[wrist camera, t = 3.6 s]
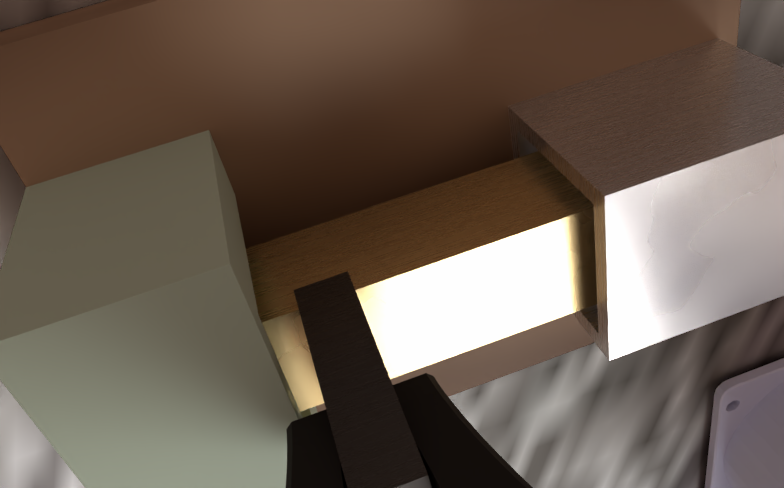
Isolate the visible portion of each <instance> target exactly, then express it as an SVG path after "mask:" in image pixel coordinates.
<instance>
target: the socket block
mask: <svg viewBox="0 0 784 488" xmlns="http://www.w3.org/2000/svg"><path fill="white" fill-rule="evenodd" d="M0 380H1V382H2V383H3V384H4V385H5V387H6V388H7V389H8V390H9V392H10V393H11V394H12V395H13V397H14V398H15V399H16V401H17V402H18V403H19V404H20V406H21V407H22V408H23V409H24V411H25V412H26V413H27V414H28V416H29V417H30V418H31V420H32V421H33V422H34V423H35V425H36V426H37V427H38V428H39V430H40V431H41V432H42V433H43V435H44V436H45V437H46V439H47V440H48V441H49V442H50V444H51V445H52V446H53V447H54V449H55V450H56V451H57V452H58V454H59V455H60V456H61V458H62V459H63V460H64V461H65V463H66V464H67V465H68V466H69V468H70V469H71V470H72V471H73V473H74V474H75V475H76V477H77V478H78V479H79V480H80V482H81V483H82V484H83V485H84V487H85V488H286V473H287V431H286V429H287V428H288V426H289V425H290V423H291V422H292V421H295V420H298V419H301V418H303V417H306V416H309V415H312V414H314V413H317V408H316V406H315V407H312V408H309V409H306V410H304V411H301V412H300V410H299V408H298V405H297V403H296V401H295V399H294V396H293V394H292V392H291V389H290V387H289V385H288V382H287V380H286V378H285V375H284V373H283V371H282V368H281V366H280V364H279V361H278V359H277V357H276V354H275V352H274V350H273V348H272V345H271V343H270V341H269V338H268V336H267V334H266V331H265V329H264V327H263V324H262V322H261V320H260V317H259V314H258V309H257V304H256V299H255V294H254V289H253V284H252V279H251V274H250V269H249V263H248V258H247V253H246V248H245V243H244V238H243V233H242V228H241V223H240V218H239V212H238V207H237V202H236V197H235V193H234V191H233V188H232V186H231V184H230V181H229V179H228V176H227V174H226V171H225V169H224V166H223V164H222V161H221V159H220V156H219V154H218V151H217V149H216V146H215V144H214V141H213V139H212V136H211V134H210V131H209V130H207V131H204V132H201V133H198V134H194V135H191V136H188V137H185V138H182V139H178V140H175V141H172V142H169V143H166V144H162V145H159V146H156V147H153V148H150V149H147V150H143V151H140V152H137V153H134V154H131V155H127V156H124V157H121V158H118V159H115V160H111V161H108V162H105V163H102V164H99V165H96V166H92V167H89V168H86V169H83V170H80V171H76V172H73V173H70V174H67V175H64V176H60V177H57V178H54V179H51V180H48V181H44V182H41V183H38V184H35V185H32V186H29V187H26V189H25V192H24V195H23V199H22V202H21V205H20V208H19V212H18V215H17V218H16V221H15V225H14V228H13V231H12V234H11V237H10V241H9V244H8V247H7V250H6V254H5V257H4V260H3V263H2V267H1V270H0Z"/></svg>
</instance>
